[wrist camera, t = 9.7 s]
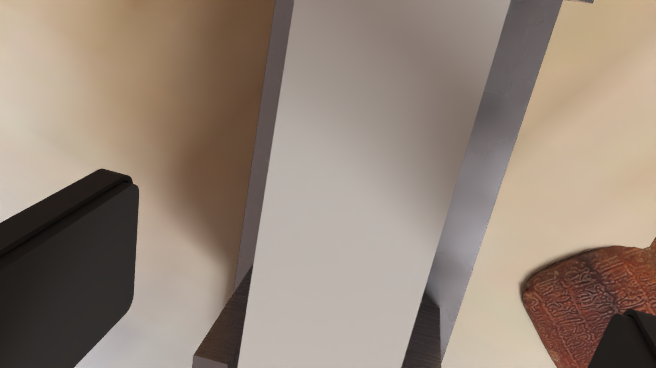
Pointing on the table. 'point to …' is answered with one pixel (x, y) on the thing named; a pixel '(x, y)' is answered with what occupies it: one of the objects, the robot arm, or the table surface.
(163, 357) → the table surface
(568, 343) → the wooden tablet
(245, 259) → the twin post stand
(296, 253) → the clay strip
